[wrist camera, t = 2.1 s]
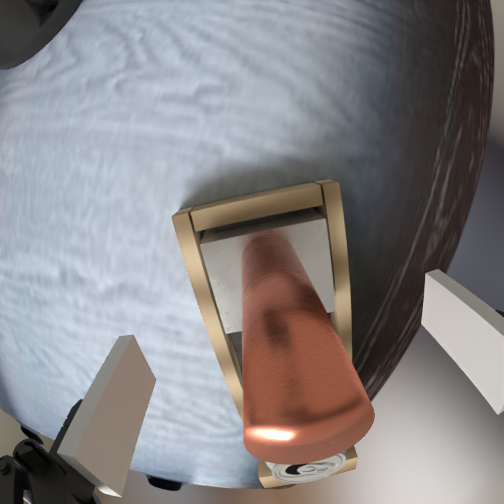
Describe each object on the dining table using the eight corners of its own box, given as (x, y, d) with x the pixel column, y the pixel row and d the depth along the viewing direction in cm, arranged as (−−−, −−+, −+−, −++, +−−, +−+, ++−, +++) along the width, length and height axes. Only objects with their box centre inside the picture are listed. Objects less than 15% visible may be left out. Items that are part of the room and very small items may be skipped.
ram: (206, 228, 22) (134, 408, 6) (311, 206, 21) (457, 337, 5) (227, 306, 24) (217, 502, 8) (321, 287, 24) (411, 459, 8)
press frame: (178, 210, 21) (133, 253, 12) (328, 178, 21) (391, 199, 12) (247, 418, 30) (250, 489, 20) (344, 398, 29) (368, 464, 20)
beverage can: (267, 342, 26) (282, 450, 14) (329, 351, 27) (366, 447, 15) (251, 387, 28) (256, 485, 16) (306, 393, 29) (329, 483, 17)
